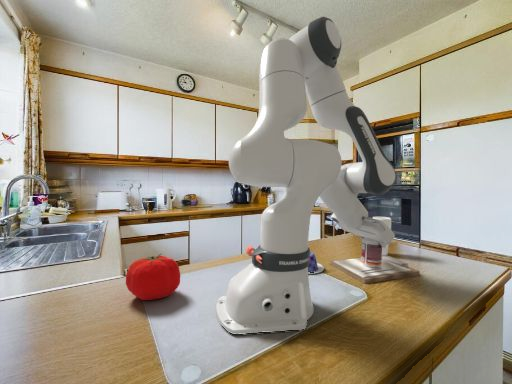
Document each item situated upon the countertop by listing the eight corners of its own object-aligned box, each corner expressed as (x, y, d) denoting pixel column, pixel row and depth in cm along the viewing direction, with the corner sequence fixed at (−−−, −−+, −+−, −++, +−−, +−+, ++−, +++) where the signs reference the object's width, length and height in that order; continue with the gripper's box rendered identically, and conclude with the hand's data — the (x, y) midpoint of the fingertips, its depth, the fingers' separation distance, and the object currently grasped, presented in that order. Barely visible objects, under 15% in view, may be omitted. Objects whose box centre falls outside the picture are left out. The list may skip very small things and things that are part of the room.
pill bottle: (384, 265, 78) (386, 233, 78) (375, 269, 75) (376, 235, 74) (367, 260, 83) (368, 229, 83) (357, 263, 80) (358, 231, 79)
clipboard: (364, 283, 68) (364, 275, 68) (330, 264, 83) (330, 257, 83) (419, 274, 75) (419, 267, 75) (378, 258, 90) (378, 252, 90)
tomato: (176, 305, 55) (176, 262, 54) (118, 309, 53) (117, 265, 52) (183, 284, 66) (183, 248, 65) (135, 287, 64) (134, 250, 63)
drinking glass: (390, 253, 96) (392, 217, 96) (389, 258, 91) (391, 219, 90) (372, 250, 100) (373, 215, 99) (370, 254, 94) (371, 217, 94)
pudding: (289, 275, 74) (290, 258, 74) (286, 261, 86) (286, 247, 86) (328, 276, 73) (328, 259, 73) (319, 262, 85) (319, 248, 85)
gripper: (385, 212, 66) (408, 243, 70) (337, 204, 85) (358, 229, 89) (372, 229, 65) (396, 260, 69) (327, 217, 84) (348, 241, 88)
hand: (374, 242), depth 79 cm, fingers open, 6 cm apart
